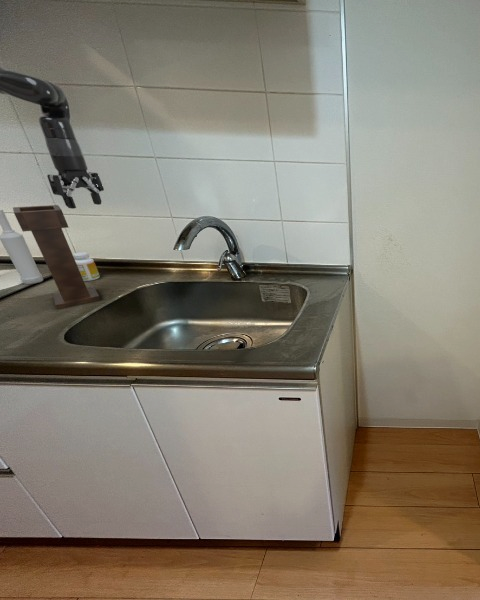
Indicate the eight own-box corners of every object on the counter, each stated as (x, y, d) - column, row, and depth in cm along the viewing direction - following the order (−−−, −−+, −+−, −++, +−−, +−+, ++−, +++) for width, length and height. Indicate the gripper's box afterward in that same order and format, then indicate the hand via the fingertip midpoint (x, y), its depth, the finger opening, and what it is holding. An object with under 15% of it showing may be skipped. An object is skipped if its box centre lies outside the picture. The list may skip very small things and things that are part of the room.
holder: (57, 309, 94) (10, 213, 81) (54, 298, 100) (10, 207, 87) (100, 299, 101) (64, 210, 88) (95, 290, 107) (60, 204, 94)
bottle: (42, 277, 113) (8, 208, 102) (45, 281, 110) (11, 210, 99) (21, 281, 109) (-17, 209, 98) (24, 285, 106) (-14, 212, 95)
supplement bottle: (99, 274, 118) (90, 250, 114) (100, 279, 115) (91, 254, 111) (80, 277, 115) (69, 252, 110) (80, 282, 111) (70, 256, 107)
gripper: (78, 153, 104) (96, 202, 111) (29, 153, 92) (52, 208, 99) (99, 155, 104) (115, 204, 111) (52, 155, 91) (73, 210, 98)
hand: (85, 206), depth 105 cm, fingers open, 8 cm apart
